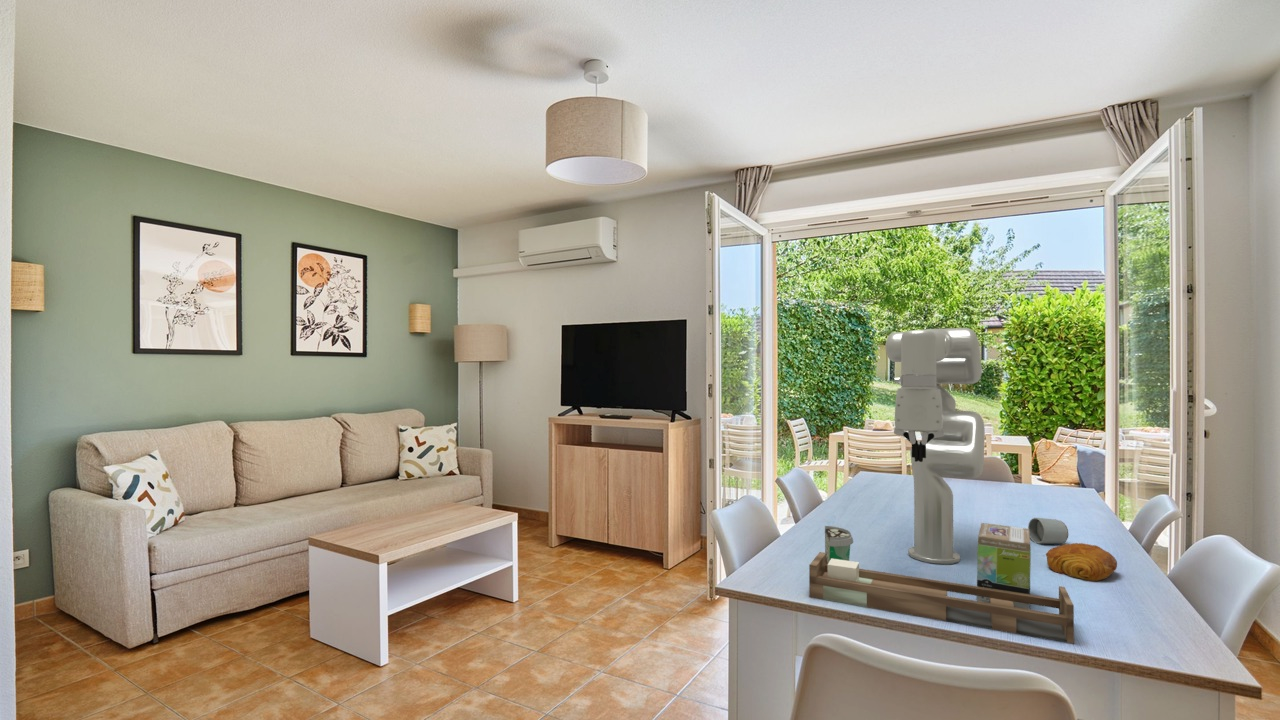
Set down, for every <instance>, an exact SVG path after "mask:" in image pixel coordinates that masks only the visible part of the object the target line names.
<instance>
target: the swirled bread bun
mask: <svg viewBox="0 0 1280 720" xmlns="http://www.w3.org/2000/svg"><path fill="white" fill-rule="evenodd" d="M1045 555H1046V562H1047V563H1046V565H1048V567H1049V568H1050V569H1051V570H1052V571H1053V572H1055V573H1057V574H1059V575H1067V576H1069V577H1071V578H1076V579H1080V580H1085V581H1089V582H1097V581H1101V580H1105V579H1107V578H1109V576H1111V575H1112V574H1113V573H1114V572H1115V571H1117V568H1118V561H1117V559H1116V557H1115V556H1114V555H1112V554H1111V552H1108V551H1106V550H1104V549H1103V548H1102V547H1100V546H1098V545H1095V544H1094V545H1092V544H1088V543H1083V542H1081V543H1077V542H1076V543H1067V544H1065V543H1063V544H1061V545H1058V546H1054V547H1052V548H1051V549H1048V551H1047V552H1046V553H1045Z"/></svg>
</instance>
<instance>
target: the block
mask: <svg viewBox="0 0 1280 720" xmlns="http://www.w3.org/2000/svg"><path fill="white" fill-rule="evenodd" d="M859 569H860V562H859V561H853V560H849V561H846V560H839V559H832V558H831V560H830V561H829V563H828V577H830V578H836V579H843V580H849V581H855V582H858V581H859Z"/></svg>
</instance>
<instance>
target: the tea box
mask: <svg viewBox="0 0 1280 720" xmlns="http://www.w3.org/2000/svg"><path fill="white" fill-rule="evenodd" d="M1031 550H1032V549H1031V538H1030V532H1029V529H1028V528H1025V527H1018V526H1009V525H1001V524H994V523H988V522H987V523H984V522H981V523H980V527H979V532H978V536H977V558H976V559H977V567H976V568H977V569H976V570H977V571H976V572H977V573H976V574H977V575H976V586H978V587H984V588H991V589H998V590H1004V591H1011V592H1018V593H1024V594H1031V567H1032V565H1031V563H1032V562H1031V557H1032V556H1031V555H1032V554H1031V553H1032V551H1031ZM976 601H980V602H986V603H990V598H988V597H982V596H976ZM1013 605H1014V607H1017V608H1023V609H1029V610H1031V609H1030V606H1031V604H1026V603H1020V602H1014V601H1013Z"/></svg>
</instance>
